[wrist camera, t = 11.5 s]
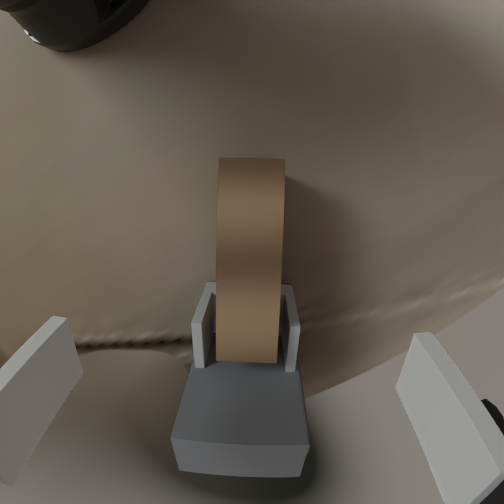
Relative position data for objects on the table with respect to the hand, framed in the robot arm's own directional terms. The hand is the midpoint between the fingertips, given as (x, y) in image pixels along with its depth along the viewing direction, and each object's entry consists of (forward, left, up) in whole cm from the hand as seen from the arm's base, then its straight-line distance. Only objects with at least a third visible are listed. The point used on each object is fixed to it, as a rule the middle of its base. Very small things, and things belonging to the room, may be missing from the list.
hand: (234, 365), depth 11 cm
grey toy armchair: (0, -9, -16) cm, 19 cm away
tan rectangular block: (0, -1, -15) cm, 15 cm away
